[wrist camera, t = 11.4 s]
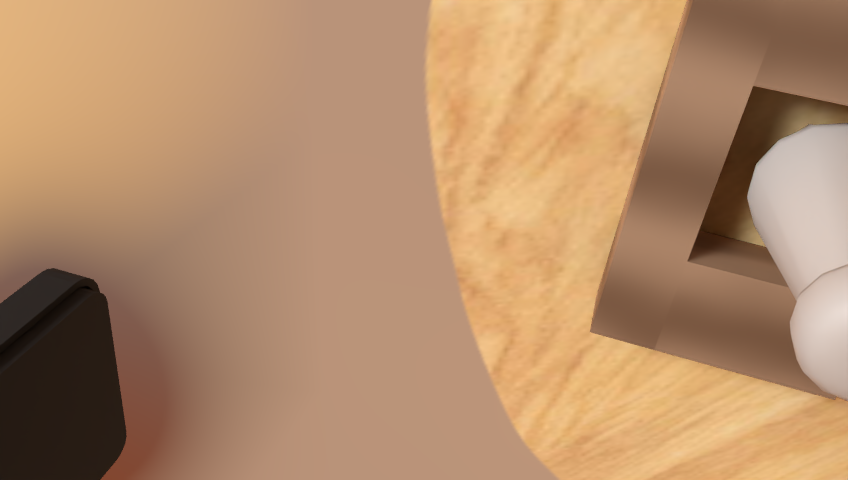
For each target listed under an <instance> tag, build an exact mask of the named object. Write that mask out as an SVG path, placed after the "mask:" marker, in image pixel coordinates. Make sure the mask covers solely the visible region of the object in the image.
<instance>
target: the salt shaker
mask: <svg viewBox="0 0 848 480" xmlns="http://www.w3.org/2000/svg"><path fill="white" fill-rule="evenodd" d="M747 199H748V203H749V207H750V211H751V215H752V219H753V223H754V226H755V228H756V229H757V231H758V233H759V235H760V237H761V238H762V240H763V242H764V244H765V246H766V247H767V249H768V251H769V253H770V254H771V256H772V258H773V260H774V262H775V263H776V265H777V267H778V269H779V271H780V272H781V274H782V276H783V278H784V279H785V281H786V283H787V285H788V287H789V288H790V290H791V292H792V294H793V295H794V297H795V299H796V301H797V302H796V305H795V308H794V311H793V314H792V317H791V320H790V331H791V337H792V342H793V346H794V350H795V354H796V359H797V361H798V363H799V365H800V367H801V369H802V371H803V372H804V373H805V374H806V375H807V376H808V377H809V378H810V379H811V380H812V381H813V382H814V383H815V384H816V385H817V386H818V387H819V388H820V389H821V390H822V391H824V392H826V393H829V394H831V395H834V396H836V397H839V398H841V399H844V400H846V401H848V123H840V124H820V125H812V124H808V125H806V126H805V127H803V128H802V129H801V130H799V131H797V132H795V133H793V134H791V135H788V136H786V137H784V138H782V139H780V140H778V141H777V142H776V143H775V144H774V145H773V146H772V147H771V149H770V150H769V151H768V152H767V153H766V154H765V155H764V156H763V157H762V158H761V159H760V160H759V161H758V162H757V163H756V166H755V170H754V173H753V176H752V180H751V183H750V187H749V190H748V195H747Z"/></svg>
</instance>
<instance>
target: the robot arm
mask: <svg viewBox="0 0 848 480" xmlns="http://www.w3.org/2000/svg"><path fill="white" fill-rule="evenodd" d="M125 441H126V426H125V420H124V413H123V406H122V399H121V392H120V385H119V379H118V372H117V365H116V358H115V351H114V344H113V337H112V330H111V323H110V317H109V310H108V303H107V299H106V297H105V296H104V294H102V293H100V291H99V288H98V285H97V283H96V282H95V281H94V280H92V279H90V278H86V277H83V276H79V275H76V274H72V273H68V272H65V271H62V270H58V269H54V268H52V269H47V270H45V271H43V272H41V273H40V274H39V275H37V276H36V277H34V278H33V279H32V280H31V281H29V282H28V283H27V284H25V285H24V286H23V287H22V288H20V289H19V290H17V291H16V292H15V293H14V294H12V295H11V296H10V297H8V298H7V299H6V300H4V301H3V302H2V303H0V480H100V479H101V478H102V477H103V475H104V474H105V473H106V472H107V471H108V470H109V469H110V467H111V466H112V465H113V464H114V463H115V461H116V460H117V459H118V457H119V456H120V454H121V452H122V450H123V447H124V445H125Z"/></svg>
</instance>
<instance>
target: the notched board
mask: <svg viewBox="0 0 848 480" xmlns="http://www.w3.org/2000/svg"><path fill="white" fill-rule="evenodd" d="M753 86H757V87H761V88H766V89H771V90H775V91H780V92H785V93H789V94H794V95H799V96H804V97H808V98H813V99H818V100H822V101H827V102H832V103H836V104H841V105H846V106H848V0H687V2H686V6H685V9H684V12H683V16H682V19H681V22H680V25H679V29H678V32H677V35H676V38H675V42H674V45H673V48H672V51H671V55H670V58H669V61H668V64H667V68H666V71H665V74H664V78H663V81H662V84H661V87H660V91H659V94H658V97H657V100H656V104H655V107H654V110H653V113H652V117H651V120H650V123H649V126H648V130H647V133H646V136H645V140H644V143H643V146H642V149H641V153H640V156H639V159H638V162H637V166H636V169H635V172H634V175H633V179H632V182H631V185H630V188H629V192H628V195H627V198H626V202H625V205H624V208H623V211H622V215H621V218H620V221H619V224H618V228H617V231H616V234H615V237H614V241H613V244H612V247H611V250H610V254H609V257H608V260H607V264H606V267H605V270H604V273H603V277H602V280H601V283H600V286H599V290H598V293H597V296H596V301H595V307H594V313H593V318H592V324H591V329H590V332H592V333H595V334H599V335H602V336H606V337H610V338H613V339H617V340H620V341H624V342H628V343H631V344H635V345H639V346H642V347H646V348H649V349H653V350H657V351H660V352H664V353H667V354H671V355H675V356H678V357H682V358H685V359H689V360H693V361H696V362H700V363H703V364H707V365H711V366H714V367H718V368H721V369H725V370H729V371H732V372H736V373H740V374H743V375H747V376H750V377H754V378H758V379H761V380H765V381H768V382H772V383H776V384H779V385H783V386H786V387H790V388H794V389H797V390H801V391H804V392H808V393H812V394H815V395H819V396H823V397H826V398H830V399H833V400H835V399H836V396H834V395H831V394H829V393H826V392H824V391H822V390H821V389H820V388H819V387H818V386H817V385H816V384H815V383H814V382H813V381H812V380H811V379H810V378H809V377H808V376H807V375H806V374H805V373H804V372H803V371H802V369H801V367H800V365H799V363H798V361H797V359H796V354H795V350H794V346H793V342H792V337H791V331H790V320H791V317H792V314H793V311H794V308H795V305H796V302H797V301H796V299H795V297H794V295H793V294H792V292H791V290H790V288H789V287H788V285H787V283H786V281H785V279H784V278H783V276H782V274H781V272H780V271H779V269H778V267H777V265H776V263H775V262H774V260H773V258H772V256H771V254H770V253H769V251H768V249H767V247H763V246H759V245H755V244H751V243H747V242H743V241H739V240H735V239H731V238H727V237H723V236H719V235H715V234H711V233H707V232H703V231H699V229H700V226H701V224H702V221H703V218H704V216H705V213H706V210H707V208H708V205H709V202H710V200H711V197H712V194H713V192H714V189H715V186H716V184H717V181H718V178H719V176H720V173H721V170H722V168H723V165H724V162H725V160H726V157H727V154H728V152H729V149H730V146H731V144H732V141H733V138H734V136H735V133H736V130H737V128H738V125H739V122H740V120H741V117H742V114H743V112H744V109H745V106H746V104H747V101H748V98H749V96H750V93H751V90H752V88H753Z"/></svg>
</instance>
